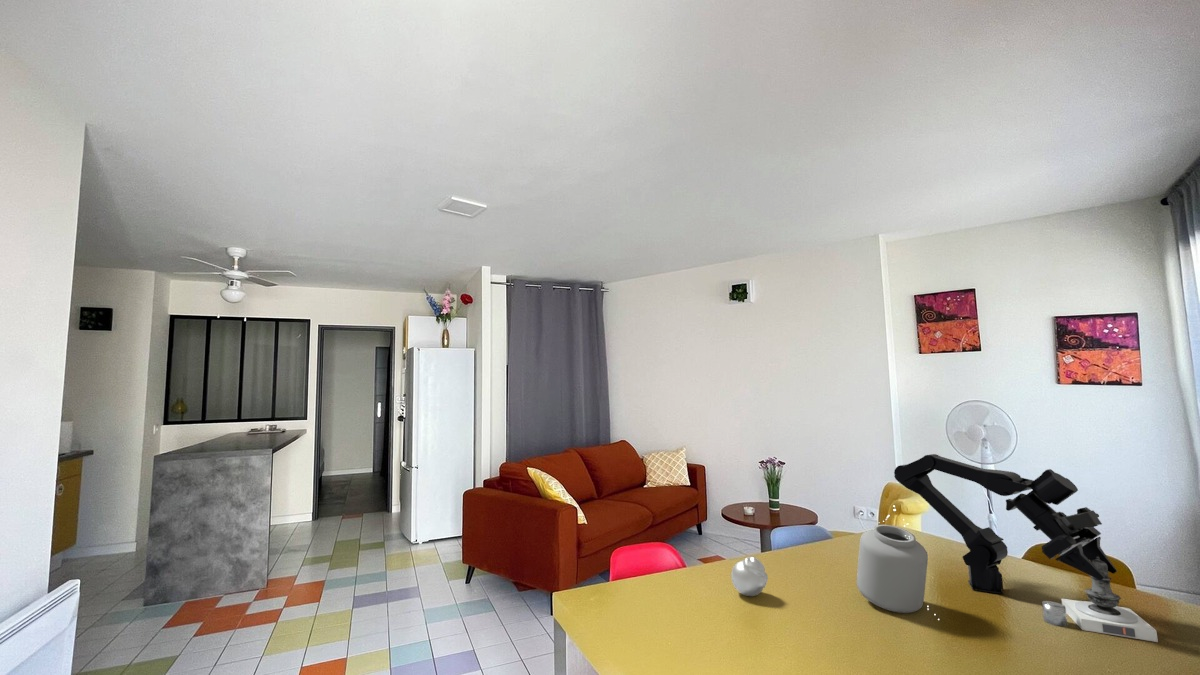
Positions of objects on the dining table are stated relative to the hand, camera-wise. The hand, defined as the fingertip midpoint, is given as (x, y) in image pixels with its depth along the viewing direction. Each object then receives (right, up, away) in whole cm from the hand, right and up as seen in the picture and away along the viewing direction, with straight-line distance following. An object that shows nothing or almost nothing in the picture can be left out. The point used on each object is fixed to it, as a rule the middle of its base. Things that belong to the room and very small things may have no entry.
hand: (1109, 575), depth 112 cm
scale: (-1, -11, 0) cm, 11 cm away
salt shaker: (-1, -8, 0) cm, 8 cm away
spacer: (-11, -11, +1) cm, 16 cm away
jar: (-43, -13, +10) cm, 46 cm away
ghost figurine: (-77, -14, +18) cm, 80 cm away
